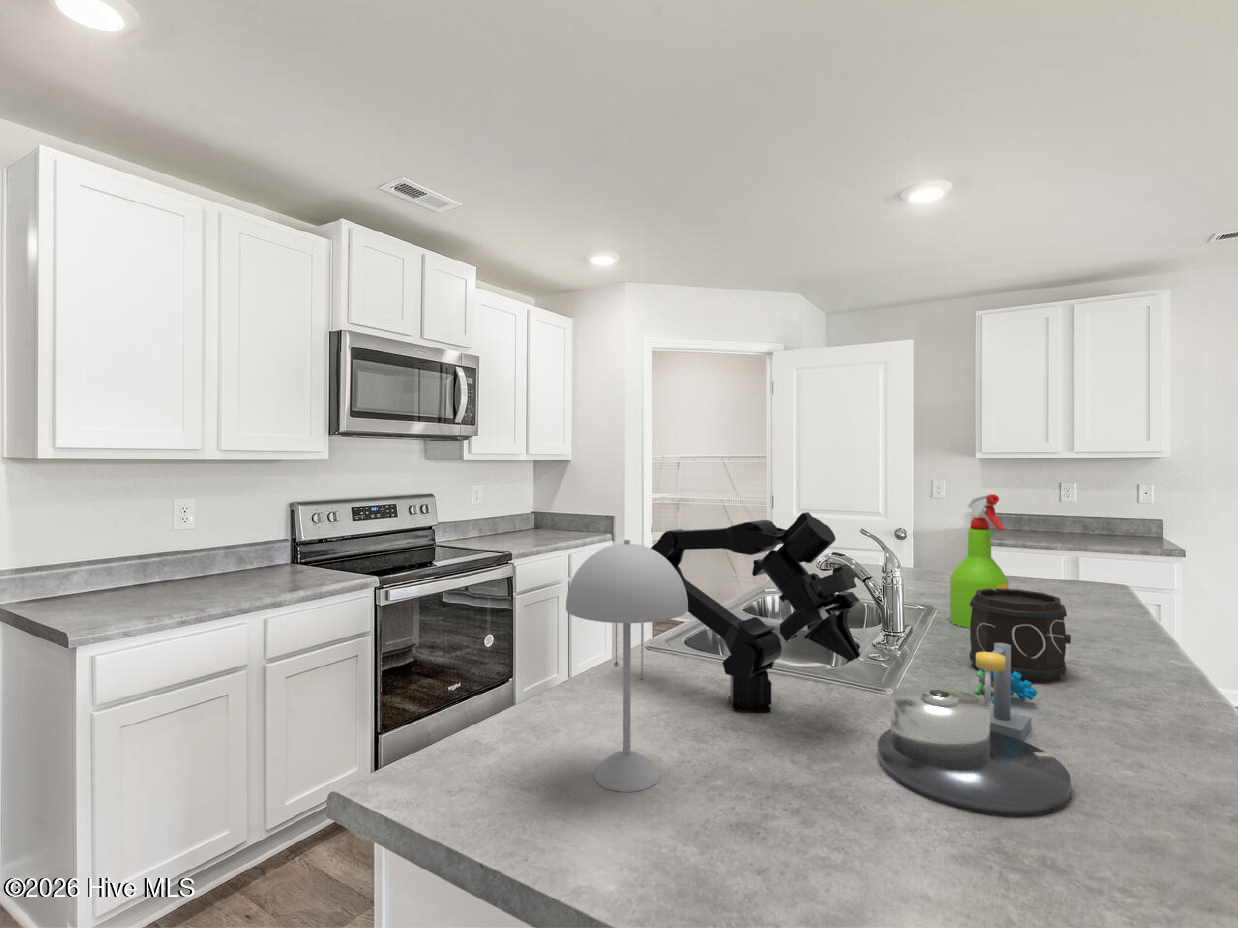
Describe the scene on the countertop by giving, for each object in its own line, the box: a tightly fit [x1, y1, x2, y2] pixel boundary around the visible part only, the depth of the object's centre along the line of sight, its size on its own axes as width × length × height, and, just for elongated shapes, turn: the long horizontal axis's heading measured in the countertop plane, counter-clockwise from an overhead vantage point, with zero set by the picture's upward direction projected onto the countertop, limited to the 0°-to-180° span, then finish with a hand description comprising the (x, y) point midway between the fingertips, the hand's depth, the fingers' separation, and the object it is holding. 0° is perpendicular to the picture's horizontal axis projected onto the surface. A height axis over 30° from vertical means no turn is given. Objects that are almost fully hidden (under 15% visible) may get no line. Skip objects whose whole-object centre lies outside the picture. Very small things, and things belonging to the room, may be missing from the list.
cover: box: [890, 684, 991, 769], centre depth 97 cm, size 13×13×8 cm
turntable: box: [877, 728, 1072, 818], centre depth 94 cm, size 24×24×2 cm
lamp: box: [565, 539, 688, 793], centre depth 92 cm, size 17×17×33 cm
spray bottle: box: [949, 493, 1009, 628], centre depth 174 cm, size 14×18×35 cm
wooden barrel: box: [969, 588, 1072, 684], centre depth 138 cm, size 18×18×16 cm
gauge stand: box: [976, 643, 1032, 742], centre depth 106 cm, size 13×7×14 cm, turn 137°
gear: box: [974, 668, 1038, 703], centre depth 121 cm, size 11×6×10 cm
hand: (855, 658), depth 105 cm, fingers closed
